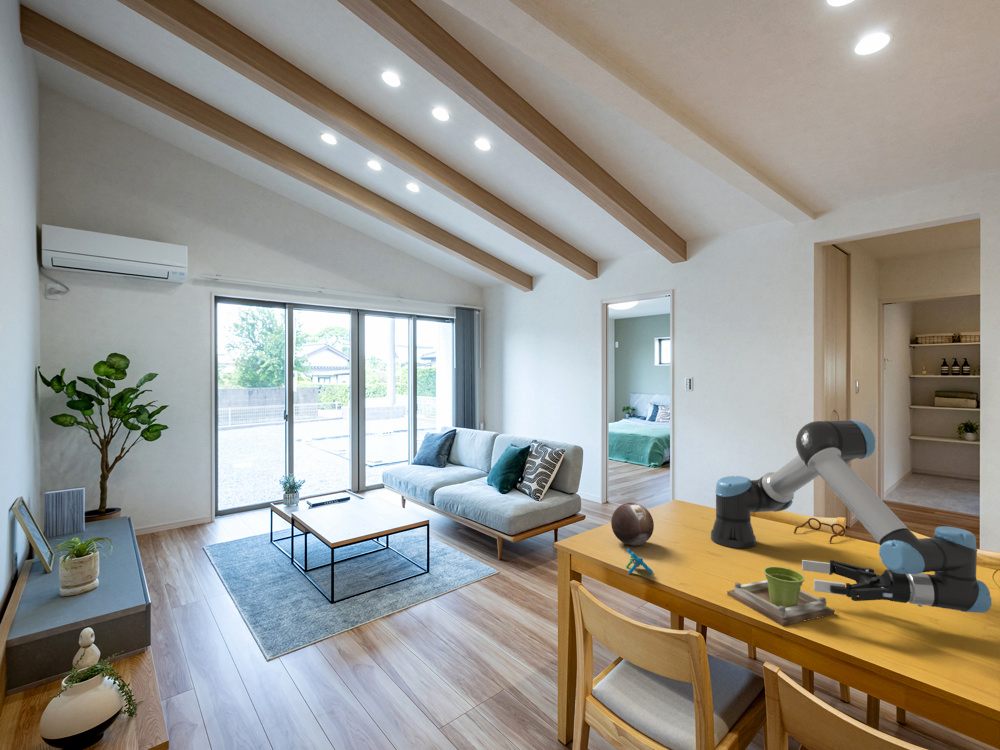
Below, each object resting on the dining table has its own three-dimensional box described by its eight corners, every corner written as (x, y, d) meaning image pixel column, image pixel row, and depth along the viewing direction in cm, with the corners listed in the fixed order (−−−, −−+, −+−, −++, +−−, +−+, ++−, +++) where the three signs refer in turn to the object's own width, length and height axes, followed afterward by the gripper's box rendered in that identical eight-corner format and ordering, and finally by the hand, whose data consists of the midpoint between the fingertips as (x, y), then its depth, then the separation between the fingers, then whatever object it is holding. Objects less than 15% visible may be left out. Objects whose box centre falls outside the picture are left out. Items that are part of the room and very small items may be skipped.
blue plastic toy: (659, 574, 148) (635, 550, 149) (646, 589, 148) (622, 565, 148) (646, 565, 159) (624, 543, 160) (634, 578, 159) (612, 556, 159)
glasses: (846, 538, 186) (846, 524, 186) (830, 544, 179) (830, 531, 179) (808, 528, 197) (808, 516, 197) (792, 534, 190) (792, 521, 190)
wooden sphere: (632, 555, 168) (632, 511, 168) (602, 541, 181) (602, 501, 181) (662, 546, 176) (662, 505, 176) (631, 534, 189) (632, 496, 189)
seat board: (775, 585, 145) (775, 573, 144) (834, 613, 128) (834, 600, 128) (727, 594, 139) (727, 582, 139) (782, 626, 122) (783, 611, 122)
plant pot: (797, 600, 133) (798, 568, 133) (809, 617, 124) (809, 583, 124) (759, 596, 136) (760, 564, 135) (768, 612, 127) (768, 578, 126)
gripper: (928, 626, 111) (819, 610, 119) (886, 581, 134) (797, 570, 142) (929, 593, 111) (819, 579, 119) (887, 554, 134) (798, 544, 142)
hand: (807, 574), depth 130 cm, fingers open, 13 cm apart
